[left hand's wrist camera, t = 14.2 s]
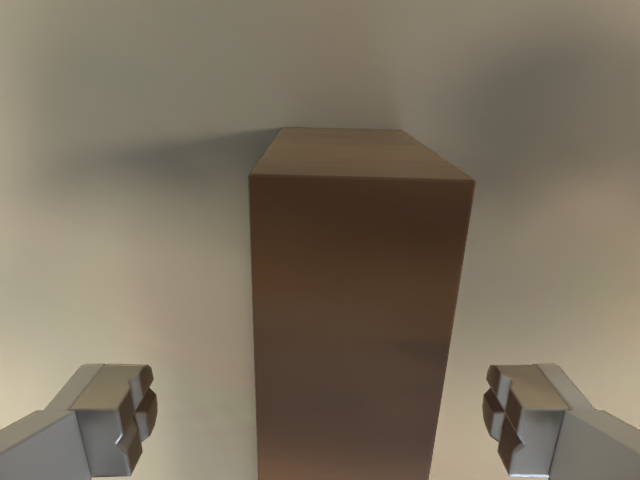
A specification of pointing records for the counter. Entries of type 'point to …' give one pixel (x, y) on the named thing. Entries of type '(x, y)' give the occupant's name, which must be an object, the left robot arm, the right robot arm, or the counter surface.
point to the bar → (352, 301)
